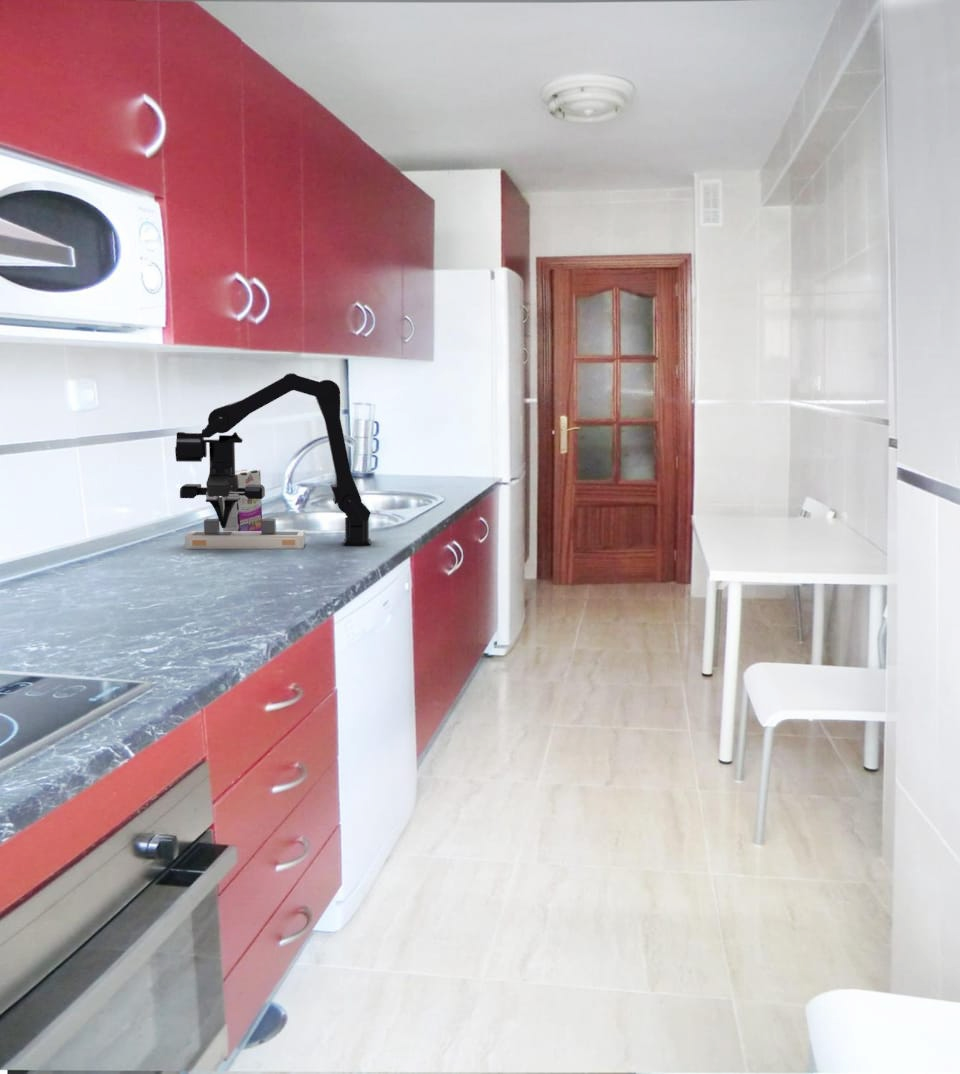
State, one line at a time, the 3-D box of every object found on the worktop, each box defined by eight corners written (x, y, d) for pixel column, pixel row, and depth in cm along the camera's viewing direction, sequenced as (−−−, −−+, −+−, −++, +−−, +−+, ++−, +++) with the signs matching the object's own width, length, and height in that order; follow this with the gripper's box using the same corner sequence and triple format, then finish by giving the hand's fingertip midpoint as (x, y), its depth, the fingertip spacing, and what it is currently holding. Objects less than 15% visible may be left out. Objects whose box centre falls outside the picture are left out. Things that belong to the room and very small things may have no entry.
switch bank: (191, 543, 223) (190, 530, 222) (305, 543, 226) (305, 530, 225) (184, 549, 215) (184, 535, 215) (302, 548, 218) (302, 535, 218)
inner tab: (263, 531, 222) (262, 518, 222) (275, 531, 222) (275, 518, 222) (261, 533, 219) (261, 520, 219) (274, 533, 219) (274, 520, 219)
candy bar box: (246, 531, 242) (244, 468, 239) (263, 532, 240) (261, 469, 237) (221, 538, 231) (219, 472, 228) (239, 539, 230) (237, 473, 227)
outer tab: (206, 531, 221) (206, 518, 220) (219, 531, 221) (219, 518, 220) (204, 533, 218) (203, 520, 217) (217, 533, 218) (217, 520, 217)
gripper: (173, 464, 208) (175, 533, 210) (258, 465, 210) (259, 533, 213) (183, 460, 219) (185, 525, 221) (264, 461, 221) (265, 526, 223)
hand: (223, 527), depth 219 cm, fingers closed
